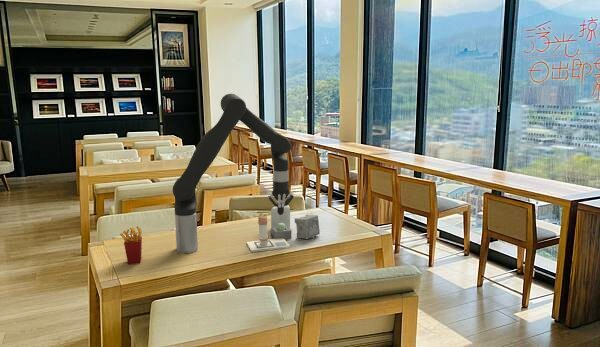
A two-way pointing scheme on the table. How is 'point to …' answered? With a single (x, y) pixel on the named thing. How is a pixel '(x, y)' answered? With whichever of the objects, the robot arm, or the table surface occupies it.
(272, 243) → the sheet
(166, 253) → the table surface
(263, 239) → the marker
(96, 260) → the table surface
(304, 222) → the grey stone block
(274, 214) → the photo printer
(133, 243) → the french fries
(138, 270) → the table surface
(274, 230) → the button housing
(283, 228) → the button
